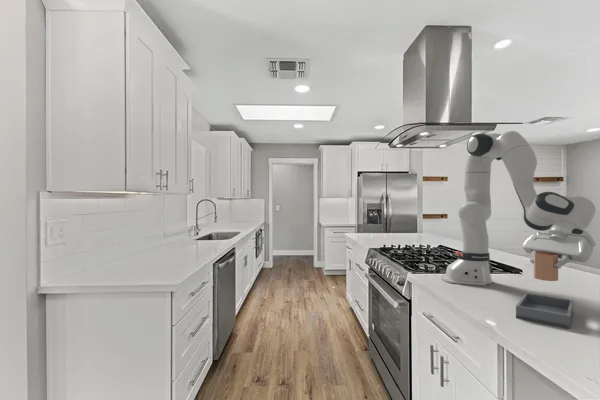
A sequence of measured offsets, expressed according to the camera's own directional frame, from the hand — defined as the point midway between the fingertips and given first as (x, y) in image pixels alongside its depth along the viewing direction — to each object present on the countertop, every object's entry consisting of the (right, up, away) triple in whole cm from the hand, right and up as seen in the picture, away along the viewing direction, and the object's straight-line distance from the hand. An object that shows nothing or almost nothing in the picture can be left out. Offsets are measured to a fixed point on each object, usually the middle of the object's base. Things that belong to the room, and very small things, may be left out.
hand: (544, 264), depth 111 cm
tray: (+1, -17, 0) cm, 17 cm away
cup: (+1, -5, 0) cm, 5 cm away
